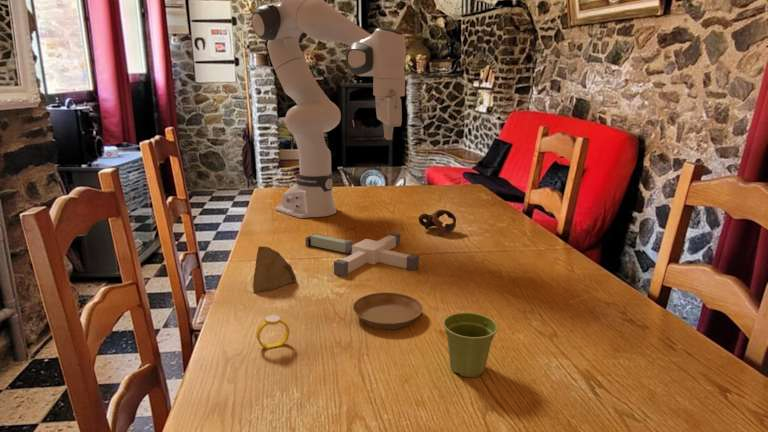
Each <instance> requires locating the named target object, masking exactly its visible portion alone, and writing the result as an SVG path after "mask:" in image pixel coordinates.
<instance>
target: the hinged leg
mask: <svg viewBox="0 0 768 432" xmlns="http://www.w3.org/2000/svg"><path fill="white" fill-rule="evenodd" d="M313 234H314V235H313ZM313 234H311V235H312V236H311V235H310V236H311V247H312V246H313V247H317V248H322V249H327V250H330V251H335V252H340V253H345V254H348V255H349V254H350V255H351V249H352V245H354V240H351V239H342V238H336V237H331V236H328V235H325V236H323V235H324V234H321V235H318V234H319V233H313Z"/></svg>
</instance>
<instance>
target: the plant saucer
mask: <svg viewBox="0 0 768 432" xmlns="http://www.w3.org/2000/svg"><path fill="white" fill-rule="evenodd" d="M352 311H353V312H354V314H355V315H356V316H357V317H358V318H359V319H360V320H361V321H362V322H364V323H365V324H366V325H367V326H370V327H373V328H376V329H381V330H397V329H400V328H401V329H402V328H404V327H407V326H409V325H410V324H411V323H413V322H414V321H415V320H417V318H418V317H419V316H420V315H421V314H422V312H423V305H422V304H421V302H420V301H419V300H417V299H416V298H414V297H412V296H410V295H407V294H402V293H399V292H374V293H369V294H366V295H363V296H361V297H359V298H358V299H357V300H355V301H354V303H353V305H352Z"/></svg>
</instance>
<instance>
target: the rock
mask: <svg viewBox="0 0 768 432" xmlns="http://www.w3.org/2000/svg"><path fill="white" fill-rule="evenodd" d="M257 248H258V249H257V252H256V258H255V266H254V275H253V283H252V289H253V290H252V291H253V294H256V293H261V292H267V291H272V290H275V289H278V288H281V287H284V286H286V285H289V284H292V283H295V282H297V281H298V280H297V276H296V274H295V272H294V270H293V268H292V265H291V264H290V263H288V262H287V261H286V260H285V258H284V257H283V256H282V255H281V254H280V252H279V251H276V250H274V249H272V248H271V247H269V246H263V245H262V246H258V247H257Z"/></svg>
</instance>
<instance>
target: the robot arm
mask: <svg viewBox="0 0 768 432" xmlns="http://www.w3.org/2000/svg"><path fill="white" fill-rule="evenodd" d="M251 26H252V30H253V31H254V33H255V35H256V36H257V37H258V38H259V39H260V40H262V41H267V45H266V47H267V50H268V51H267V52H268V55H269V59H270V63H271V64H272V67H273V70H274V71H275V74H276V77H277V78H278V80H279V83H280V85H281V88H282V89H283V92H284V93H285V95H287V96H288V97H290V98H291V99H292V100H293V101H294V102H295V103H296V104H295V105H294V106H292V107H291V108H289V109H288V110H287V112H286V114H285V118H284V119H285V120H284V121H285V126H286V128H287V130H288V131H289V132H290V133H291V134H292V136H293V138H294V140H295V143H296V147H297V151H298V161H299V163H298V165H299V172H298V174H295V175H293V176H294V177H293V179H296V181H295V183H294V184H293V185H292V186H290V187H289V188H288V189H287V190H286V191H285V192H283V195H282V199H281V204H279V205H277V206H275V211H278V212H279V213H283V214H286V215H290V216H293V217H296V218H300V219H304V218H305V219H306V218H321V217H322V218H323V217H328V216H332V215H335V214H336V213H337V208H336V206H335V202H334V201H335V200H334V195H333V183H334V180H333V179H334V178H333V172H332V153H331V152H332V151H331V150H330V149H329V148H328V145H327V144H326V141H325V140H326V139H325V136H324V133H328V132H330V131H332V130H333V129H335V128H336V127H337V126H338V125H339V124H340V122H341V119H342V118H341V117H342V116H341V115H342V114H341V110H340V108H339V107H338V106H337V105H336V104H335V102H332V101H331V100H330V98H329V97H328V96H327V95H326V94H325V92H324V90H322V87H320V85H319V84H318V82H317V80H316V79H315V77H314V74H313V72H312V71H311V68H310V66H309V65H308V62H307V60H306V57H305V56H304V53H303V51H302V49H301V47H300V38H301V39H304V40H305V39H307V37H310V38H313V39H315V40H318V41H325V42H331V43H332V42H334V43H339V44H343V45H347V46H348V48H347V50H346V53H345V54H346V55H345V62H346V66H347V68H348V71H349V72H351V74H352V75H354V76H358V77H373V84H372V85H373V86H372V90H373V91H372V95H373V96H374V98H375V101H374V102H375V112H376V113H375V114H376V118H377V120H379V121H380V122H381V123H382V124H383V127H382V128H383V133H384V135H383V136H384V139H385V140H387V141H392V140H393V133H394V128H395V127H397V128H398V127H401V126H402V122H403V121H402V120H403V118H402V117H403V114H402V113H403V112H402V111H403V109H402V106H403V105H402V104H403V103H402V99H401V97H405V95H406V75H405V66H406V62H407V55H406V54H407V49H406V47H407V45H406V39H405V35H404V32H402V30H400V29H397V28H389V27H384V26H383V27H382V26H381V27H377V28H376V29H375V30H374V31H373V33H370V32H369V31H367V30H366V29H364V28H363V27H362V26H360V25H358V24H356V22H353V20H350V19H349V18H348V17H347V16H345V15H343V14H342V13H341V12H340V11H338V10H337V9H335V8H334V7H333V6H331V5H330V4H329V3H328V2H326V1H325V0H280V1H278V2H274V3H271V4H270V3H268V4H263V5H260V6H259V7H256V8H255V9H254V10H253V12H252V14H251Z"/></svg>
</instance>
